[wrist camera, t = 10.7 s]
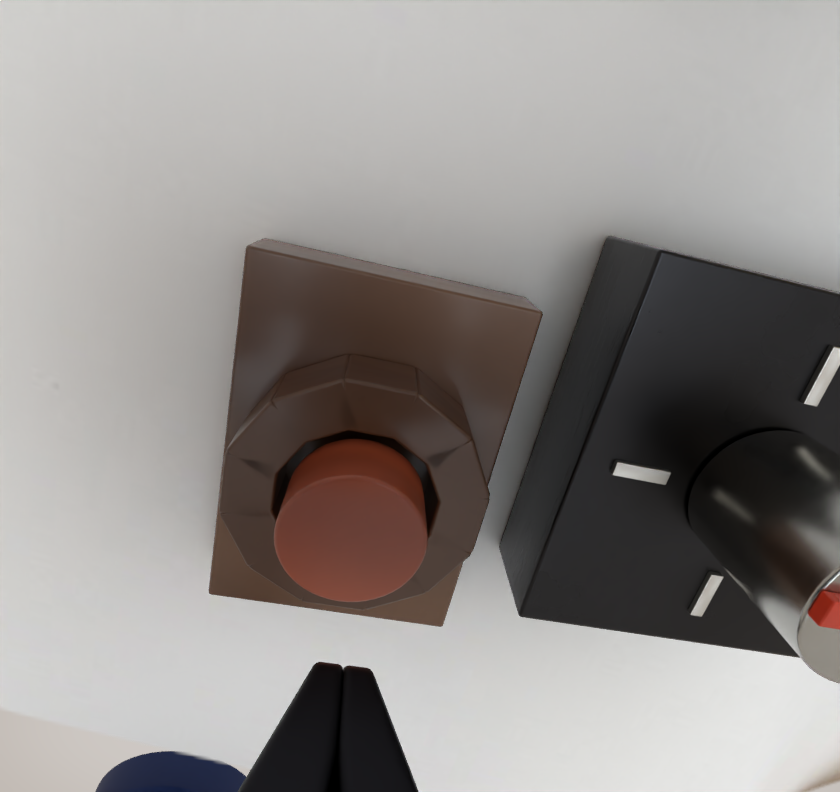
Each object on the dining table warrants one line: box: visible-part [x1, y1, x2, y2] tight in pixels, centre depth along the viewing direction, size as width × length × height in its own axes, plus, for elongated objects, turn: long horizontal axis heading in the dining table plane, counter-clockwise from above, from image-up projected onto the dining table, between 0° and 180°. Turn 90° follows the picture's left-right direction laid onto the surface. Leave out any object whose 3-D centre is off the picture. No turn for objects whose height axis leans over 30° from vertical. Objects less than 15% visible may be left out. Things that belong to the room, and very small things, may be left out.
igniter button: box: [274, 439, 428, 602], centre depth 12 cm, size 3×3×2 cm
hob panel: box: [499, 236, 840, 658], centre depth 15 cm, size 10×10×3 cm
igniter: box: [209, 238, 543, 627], centre depth 14 cm, size 10×7×4 cm
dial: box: [688, 430, 840, 683], centre depth 11 cm, size 4×4×4 cm
